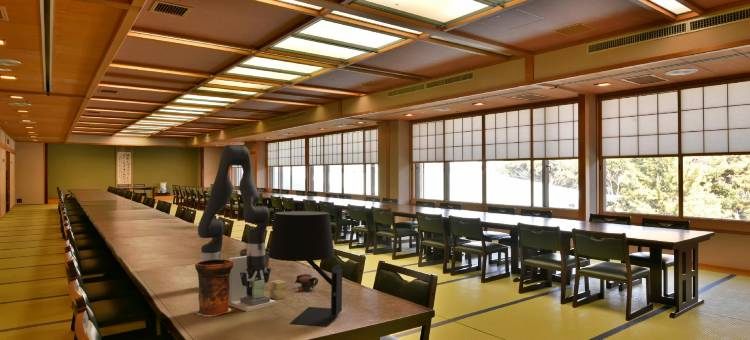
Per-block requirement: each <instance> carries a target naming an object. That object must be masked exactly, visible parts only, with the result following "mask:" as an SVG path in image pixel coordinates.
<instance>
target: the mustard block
mask: <svg viewBox="0 0 750 340" xmlns="http://www.w3.org/2000/svg"><path fill="white" fill-rule="evenodd" d="M269 297H270V299H271V298H272V299H275V300H279V299H283V298H286V297H287V281H285V280H282V279H276V280H271V281H269Z"/></svg>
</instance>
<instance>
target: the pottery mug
mask: <svg viewBox="0 0 750 340" xmlns="http://www.w3.org/2000/svg"><path fill="white" fill-rule="evenodd" d="M318 283H319V279H318V278H317V277H315V276H314V277H312V275H311V274H306V273H305V274H304V273H303V274H299V275H296V279H295V281H294V284H300V285H299V286H298V287H297V289H298V290H297V291H298V292H303V291H304V292H305V291H306V292H311V290H312V289H314V288H315V287H316V286H317V285H318Z"/></svg>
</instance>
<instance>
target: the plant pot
mask: <svg viewBox="0 0 750 340" xmlns="http://www.w3.org/2000/svg"><path fill="white" fill-rule="evenodd" d="M269 249H270V248H266V247H265V265H264V267H265V268H269V264H270V263H269V262H270V258H269V257H268V255H269ZM238 252H239V257H242V256H247V248H243V249H239V251H238ZM263 276H264V272H263Z"/></svg>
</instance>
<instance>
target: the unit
mask: <svg viewBox="0 0 750 340" xmlns="http://www.w3.org/2000/svg"><path fill="white" fill-rule="evenodd" d="M228 259H229V260H231V261H233V268H232V269H231V271H230V275H229V307H233V308H236V309H239V310H241V311H244V312H247V313H248V312H251V311H252V312H253V311H256V310H259V309H265V308H267V307H272V306H276V305H277V301H276V300H273V299H271V297H270V296H268V295H264V297H261V298H257V299H252V298H249V297H247V287H246V286H243V285H242V281H241V276H240V272H244V271H246V269H247V256H242V257H240V256H235V257H229V258H228ZM247 278H248V274H247ZM250 279H252V278H250Z"/></svg>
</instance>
